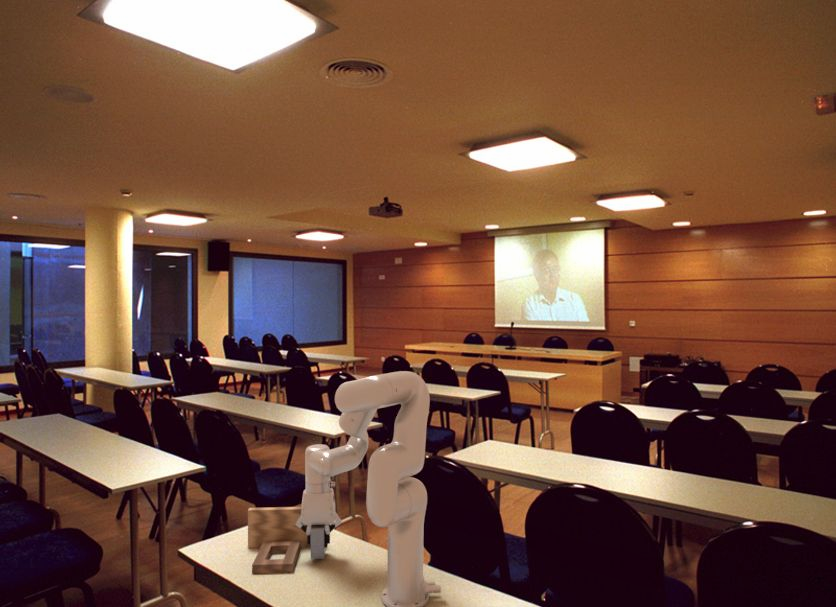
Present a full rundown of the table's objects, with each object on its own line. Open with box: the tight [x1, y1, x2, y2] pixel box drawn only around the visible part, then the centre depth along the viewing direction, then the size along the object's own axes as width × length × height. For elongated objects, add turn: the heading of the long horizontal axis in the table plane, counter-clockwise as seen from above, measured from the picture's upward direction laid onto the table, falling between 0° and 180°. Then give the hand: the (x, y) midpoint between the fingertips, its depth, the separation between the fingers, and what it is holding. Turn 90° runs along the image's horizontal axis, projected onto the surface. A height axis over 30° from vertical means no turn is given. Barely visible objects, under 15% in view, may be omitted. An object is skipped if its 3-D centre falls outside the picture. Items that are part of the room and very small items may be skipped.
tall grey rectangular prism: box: [310, 525, 328, 560], centre depth 166 cm, size 4×7×9 cm, turn 4°
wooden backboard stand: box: [247, 506, 309, 575], centre depth 166 cm, size 22×18×12 cm
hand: (318, 545), depth 166 cm, fingers closed on tall grey rectangular prism, 4 cm apart
